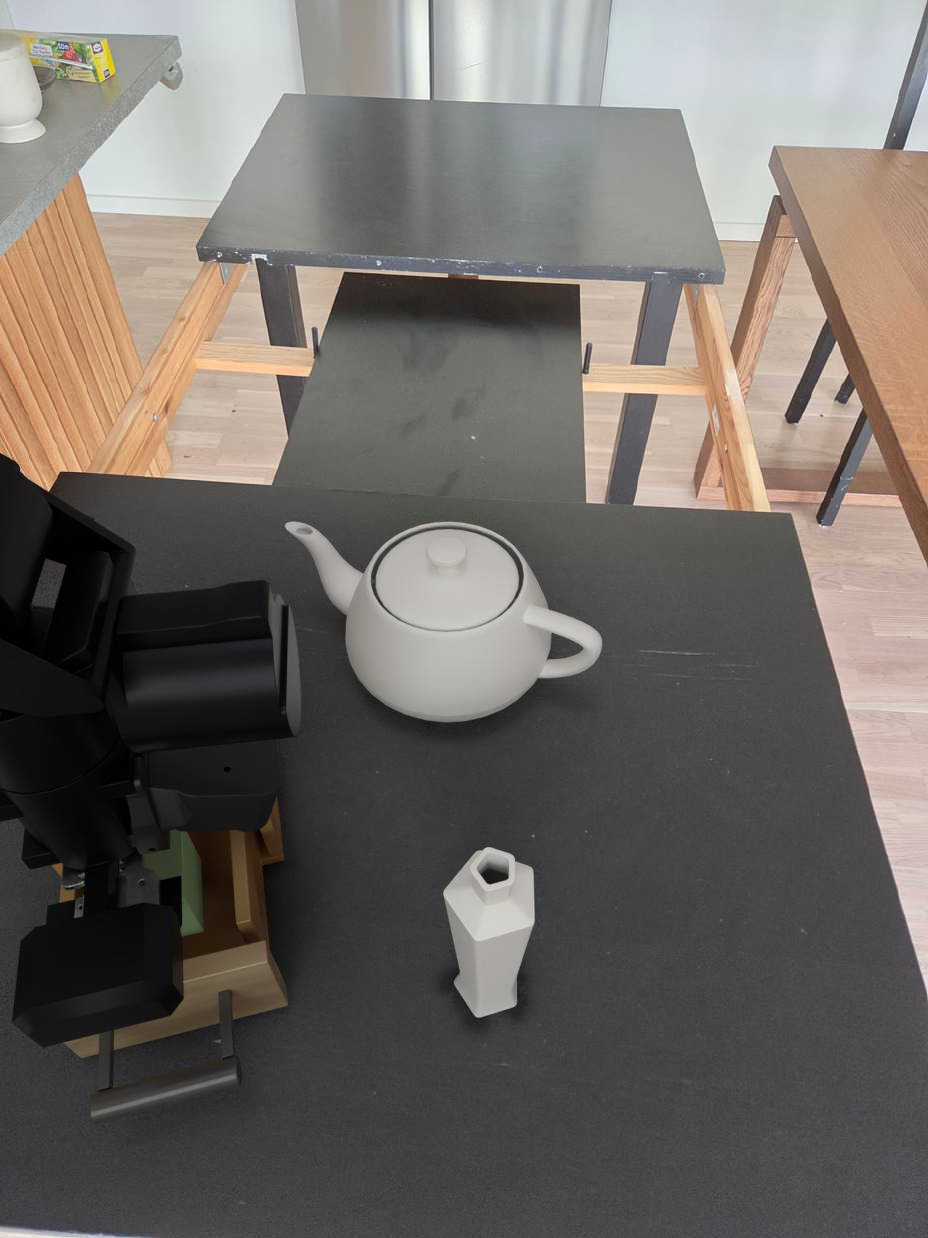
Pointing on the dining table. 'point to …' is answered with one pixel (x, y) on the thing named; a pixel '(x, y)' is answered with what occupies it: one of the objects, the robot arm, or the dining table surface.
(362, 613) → the teapot
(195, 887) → the block
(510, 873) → the white faceted vase
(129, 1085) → the drawer
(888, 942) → the dining table surface
